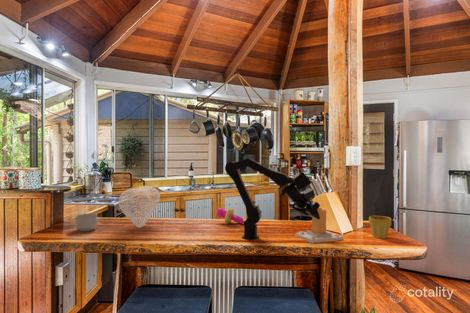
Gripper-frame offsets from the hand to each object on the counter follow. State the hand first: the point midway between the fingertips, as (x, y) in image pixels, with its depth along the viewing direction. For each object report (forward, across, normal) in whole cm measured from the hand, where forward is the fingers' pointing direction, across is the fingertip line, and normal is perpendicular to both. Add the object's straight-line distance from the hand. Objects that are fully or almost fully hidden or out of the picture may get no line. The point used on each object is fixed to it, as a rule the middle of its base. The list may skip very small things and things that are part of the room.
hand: (313, 216), depth 154 cm
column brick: (+9, 0, +4) cm, 10 cm away
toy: (-12, +44, +27) cm, 53 cm away
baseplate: (+10, 0, +5) cm, 11 cm away
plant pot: (+31, -9, -16) cm, 36 cm away
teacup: (-66, +55, +82) cm, 119 cm away
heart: (-47, +50, +63) cm, 93 cm away
